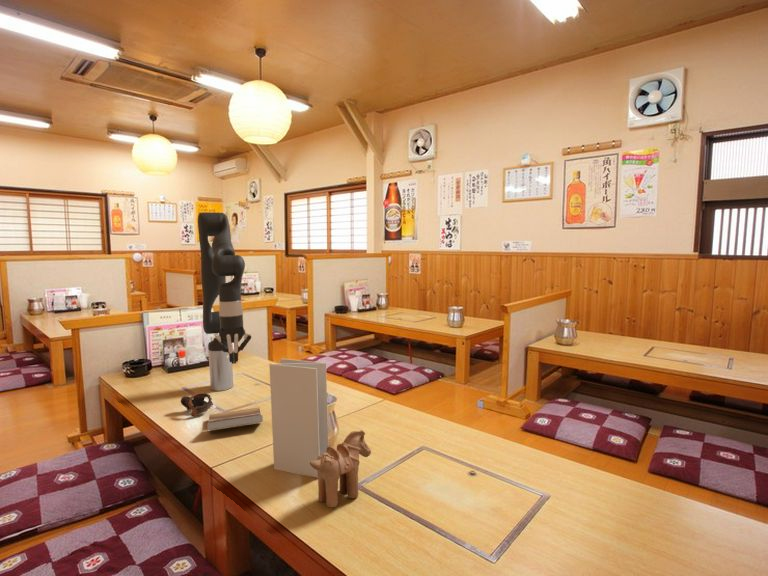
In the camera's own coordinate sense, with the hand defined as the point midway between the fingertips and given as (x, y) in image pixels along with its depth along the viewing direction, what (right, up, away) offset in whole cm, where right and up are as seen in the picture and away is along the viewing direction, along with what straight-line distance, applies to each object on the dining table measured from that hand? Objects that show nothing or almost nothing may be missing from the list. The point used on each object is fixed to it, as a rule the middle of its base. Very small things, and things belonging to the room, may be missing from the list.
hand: (233, 363), depth 146 cm
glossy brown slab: (0, -21, +3) cm, 21 cm away
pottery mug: (-17, -20, +11) cm, 29 cm away
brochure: (+29, -24, -29) cm, 48 cm away
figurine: (+42, -26, -41) cm, 64 cm away
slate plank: (+3, -20, -6) cm, 21 cm away
